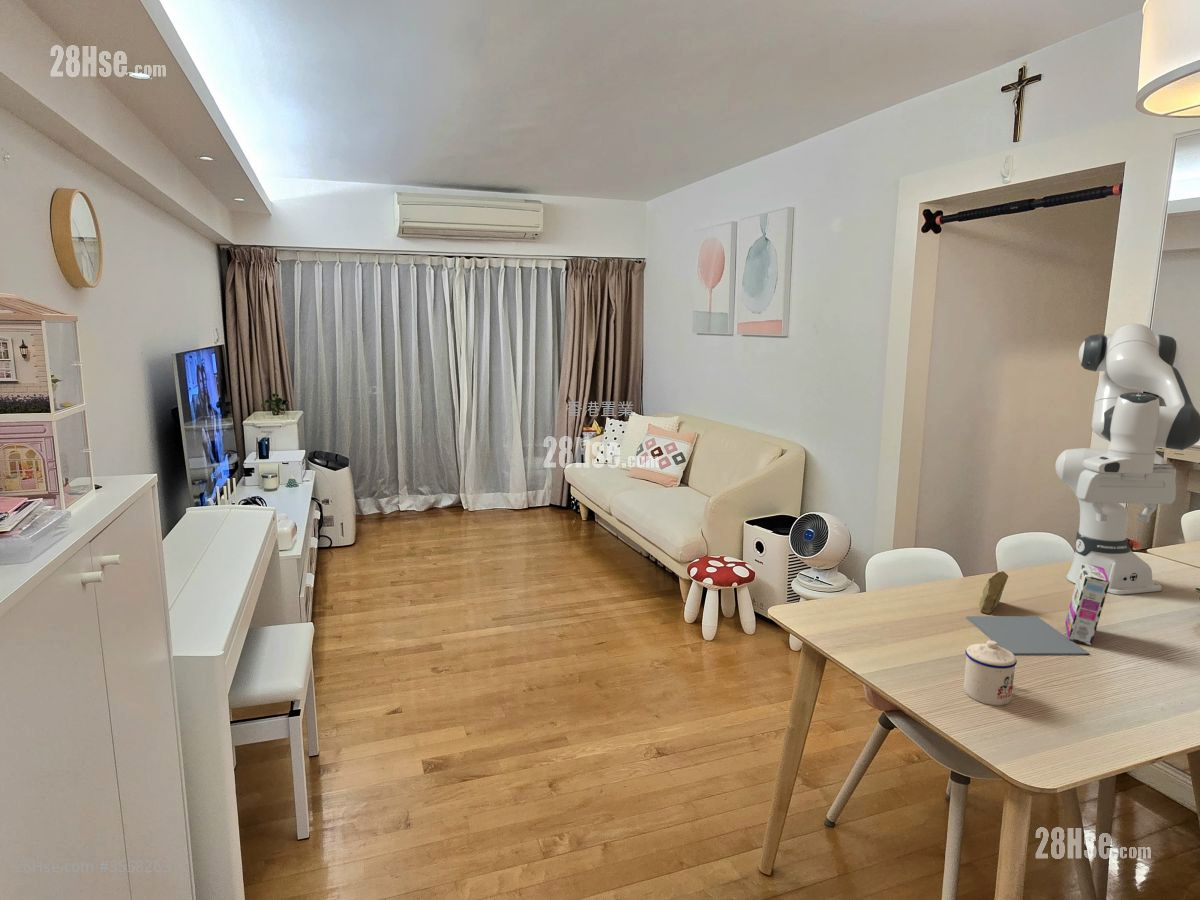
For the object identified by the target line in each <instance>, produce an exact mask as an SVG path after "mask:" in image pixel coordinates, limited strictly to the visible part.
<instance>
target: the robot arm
mask: <svg viewBox="0 0 1200 900" xmlns="http://www.w3.org/2000/svg"><path fill="white" fill-rule="evenodd" d="M1178 356H1179V347H1178V344H1177V341H1176V340H1175V338H1174V337H1173V336H1169V335H1166V334H1165V335H1164V334H1158V335H1155V334H1154V332H1153V330H1152V329H1151V328H1150V327H1148V326H1147V325H1144V324H1142V323H1130V324H1125V325H1123V326H1121V327H1119V328H1118V329H1116V330H1115V331H1114V333H1111V334H1110V333H1108V334H1102V333H1096V334H1092V335H1088V336H1087V337H1086V338H1085V339H1084V340H1083V342H1082V343H1081V345H1080V346H1079V350H1078V360H1079V362H1080V366H1081V367H1082V368H1083V369H1084V370H1086V371H1091V372H1097V371H1098V372H1103V373H1102V375H1101V376H1100V379H1099V382H1098V385H1097V389H1096V393H1095V394H1094V395H1095V396H1094V402H1093V411H1092V420H1091V429H1092V431H1093V432H1094V433H1095V434H1096V435H1097V436H1098V437H1100V438H1101V439H1104V440H1106V441H1107V442H1109V444H1108V446H1107V449H1105V448H1104V449H1102V448H1101V449H1100V448H1092V447H1090V448H1088V447H1079V448H1068V449H1067V448H1066V449H1065V450H1063V451H1061V453H1060V454H1059V455H1058V457H1057V458H1056V460H1055V464H1054V469H1055V473H1056V475H1057V477H1058V478H1059V479H1060V481H1061V482H1063V483H1065V485H1067V486H1068V488H1070V489H1071V491H1072V492H1073V493H1074V495H1075V497H1076V499H1077V501H1078V505H1079V526H1078V531H1076V535H1075V541H1074V542H1075V543H1074V546H1075V548H1074V549H1075V551H1074V556H1073V560H1072V562H1071V565H1070V568H1069V570H1068V572H1067V575H1066V579H1067V580H1068V581H1070V582H1071V583H1074V584H1075V585H1076V581H1077V578H1078V574H1079V571H1080V567H1081V563H1084V564H1089V565H1093V566H1098V567H1102V568H1104V570H1105V572H1106V575H1107V577H1108V579H1109V582H1110V583H1109V587H1108V590H1107V593H1109V594H1110V593H1111V594H1113V595H1127V594H1128V595H1129V594H1139V593H1140V594H1141V593H1152V592H1160V591H1161V592H1162V589H1163V588H1162V585H1161V584H1159V583H1158V582H1157V581H1156V580H1154V579H1153V572H1152V570H1153V569H1152V567H1151V566H1150V565H1149V563H1147V562H1146V561H1145V560H1144V559H1142V558H1140V557H1139V556H1138V555H1137V554H1136V553H1135V552H1133V551H1132V547H1133V548H1134V549H1139V548H1140V547H1141V545H1142V544H1141V542H1140V541H1139V540H1138V541H1137V540H1135V539H1132V540H1131V539H1129V538H1128V537H1127V533H1128V528H1129V527H1128V526H1129V518H1130V515H1129V511H1128V510H1127V508H1126V507H1125V506H1124V505H1122V504H1133V505H1135V504H1137V505H1138V504H1140V505H1141V504H1143V506H1144V507H1145V508H1144V509H1143V511H1142V512H1141V513H1140V512H1138V513H1137V521H1138V522H1140V523H1150V517H1151V515H1152V514H1153V513H1154V512H1155V511H1156V510H1157V507H1158V506H1157V505H1172V504H1173V503H1174V502H1175V500H1176V495H1177V493H1176V491H1177V487H1176V485H1177V484H1176V476H1177V470H1176V468H1175V467H1174V466H1172V465H1171V464H1169V463H1168V462H1167V461H1166V460H1165V458H1163V457H1162V456H1161V455H1159V454H1158V453H1157V451H1156V448H1165V449H1169V450H1170V449H1171V450H1178V451H1183V450H1186V449H1189V448H1190V447H1192V446H1194V445H1196V444H1197V443H1198V442H1199V441H1200V413H1199V411H1198V410H1197V409H1196V407H1195V406H1194V404H1193V401H1192V399H1191V396H1190V394H1189V391H1188V389H1187V387H1186V385H1185V382H1184V379H1183V377H1182V376H1181V373H1180V372H1179V370H1178V369H1177V367H1175V366H1173V365H1174V364H1175V363H1176V362H1177V359H1178ZM1145 392H1146V393H1145ZM1158 397H1160V398H1162V399H1163V401H1164V403H1165V406H1163V405H1161V406H1160V399H1159V398H1158Z"/></svg>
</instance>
